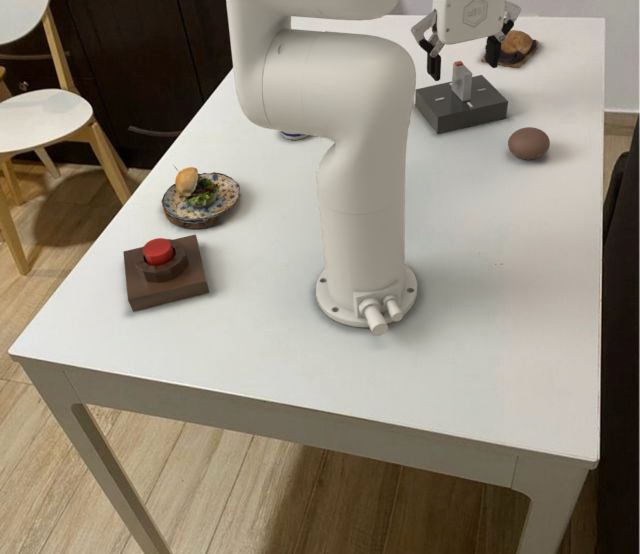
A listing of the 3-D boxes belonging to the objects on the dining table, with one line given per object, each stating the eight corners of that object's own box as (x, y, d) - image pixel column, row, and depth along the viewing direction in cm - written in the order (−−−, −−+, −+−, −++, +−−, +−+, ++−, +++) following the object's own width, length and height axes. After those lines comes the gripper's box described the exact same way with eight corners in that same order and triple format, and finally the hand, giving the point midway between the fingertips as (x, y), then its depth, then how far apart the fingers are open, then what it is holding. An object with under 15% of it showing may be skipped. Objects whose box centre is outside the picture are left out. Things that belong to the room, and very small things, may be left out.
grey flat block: (470, 100, 106) (472, 71, 103) (462, 101, 106) (464, 73, 103) (459, 87, 109) (461, 59, 106) (451, 89, 109) (453, 61, 106)
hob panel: (506, 118, 107) (508, 100, 105) (437, 134, 106) (438, 116, 103) (480, 91, 114) (481, 73, 112) (415, 105, 112) (415, 88, 110)
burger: (227, 232, 93) (216, 188, 88) (151, 226, 96) (136, 183, 90) (252, 183, 101) (244, 140, 95) (181, 179, 103) (169, 136, 98)
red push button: (175, 262, 84) (172, 252, 83) (147, 269, 84) (143, 258, 82) (172, 245, 86) (169, 235, 85) (145, 252, 86) (141, 241, 85)
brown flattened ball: (553, 150, 100) (558, 126, 97) (537, 170, 97) (542, 146, 94) (516, 140, 102) (520, 117, 99) (499, 159, 99) (502, 135, 96)
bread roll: (500, 38, 127) (502, 18, 125) (542, 45, 124) (545, 25, 121) (476, 61, 122) (478, 41, 119) (520, 69, 118) (523, 48, 115)
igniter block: (209, 293, 85) (202, 269, 82) (132, 312, 84) (123, 289, 81) (199, 246, 92) (192, 223, 89) (128, 263, 90) (118, 240, 88)
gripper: (422, -25, 89) (420, 93, 101) (540, -50, 91) (523, 69, 103) (403, -43, 94) (403, 72, 107) (515, -66, 96) (502, 50, 108)
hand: (462, 70), depth 105 cm, fingers open, 9 cm apart
